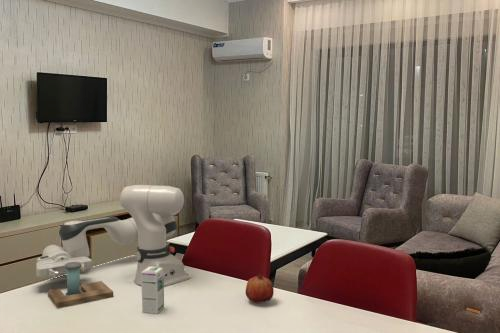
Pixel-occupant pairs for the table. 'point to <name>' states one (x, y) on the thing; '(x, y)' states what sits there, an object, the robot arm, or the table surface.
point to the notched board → (81, 295)
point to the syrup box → (152, 290)
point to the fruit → (259, 289)
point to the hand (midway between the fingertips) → (69, 272)
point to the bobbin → (73, 278)
